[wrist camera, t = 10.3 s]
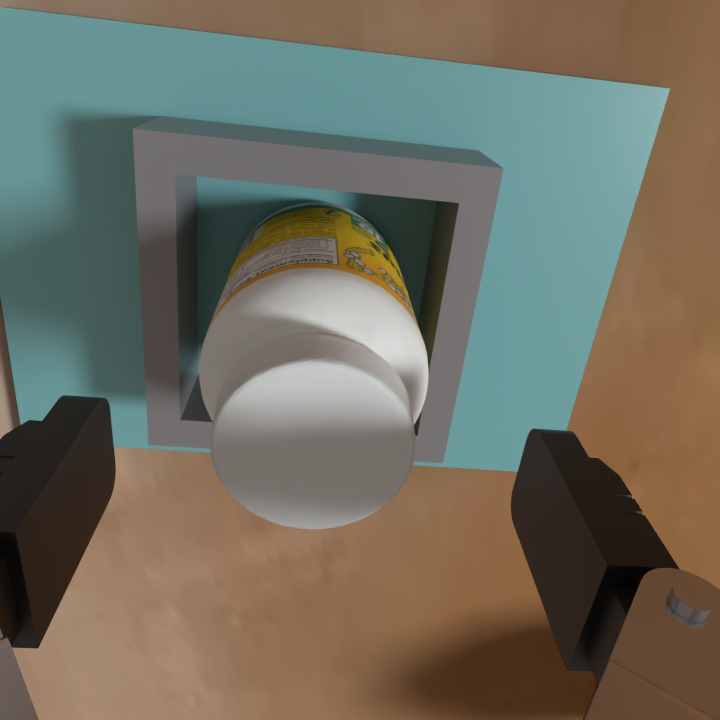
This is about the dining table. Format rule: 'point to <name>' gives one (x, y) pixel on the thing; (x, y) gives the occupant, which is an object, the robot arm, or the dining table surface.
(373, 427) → the supplement bottle
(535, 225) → the bottle stand
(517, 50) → the dining table surface
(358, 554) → the dining table surface
